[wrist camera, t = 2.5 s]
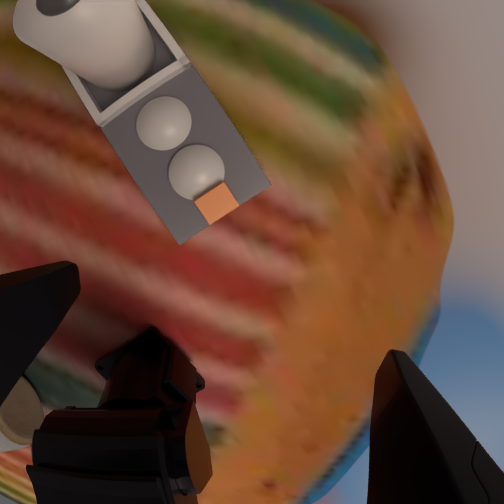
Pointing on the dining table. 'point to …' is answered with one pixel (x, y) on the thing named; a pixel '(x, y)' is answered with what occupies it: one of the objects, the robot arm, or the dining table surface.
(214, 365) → the dining table surface
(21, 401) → the ceramic mug
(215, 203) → the power strip
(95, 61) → the cream cylinder
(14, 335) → the robot arm
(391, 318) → the dining table surface
